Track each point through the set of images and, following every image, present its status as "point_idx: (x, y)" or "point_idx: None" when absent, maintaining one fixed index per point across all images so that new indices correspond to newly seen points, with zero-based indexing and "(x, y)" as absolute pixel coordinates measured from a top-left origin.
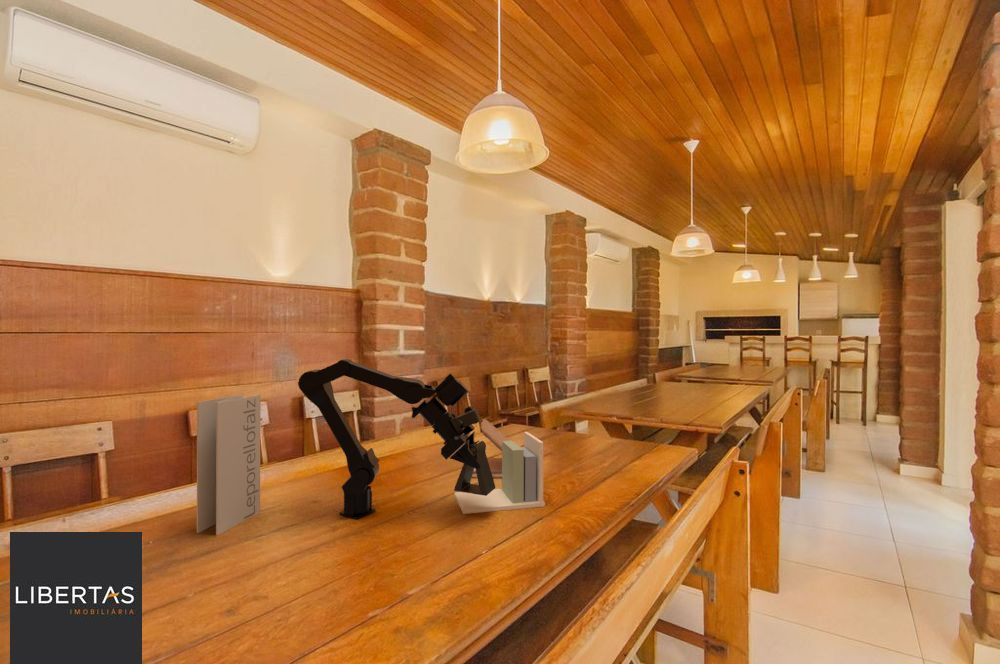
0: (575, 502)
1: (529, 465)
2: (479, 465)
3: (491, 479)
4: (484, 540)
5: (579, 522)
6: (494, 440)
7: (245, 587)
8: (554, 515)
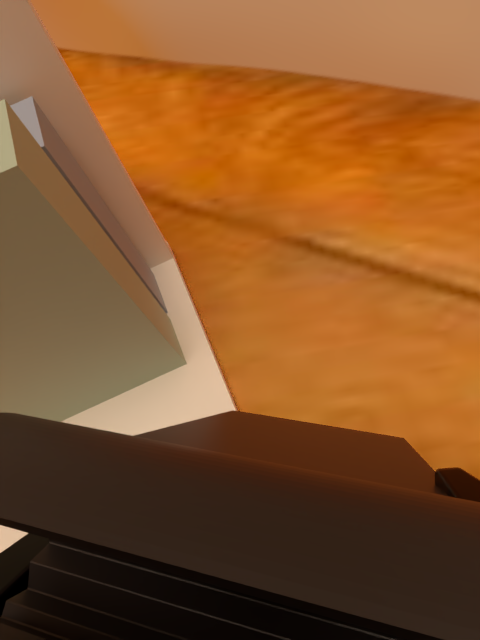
0: (126, 169)
1: (75, 175)
2: (471, 480)
3: (247, 420)
4: None
5: (309, 134)
6: None
7: None
8: (260, 207)
